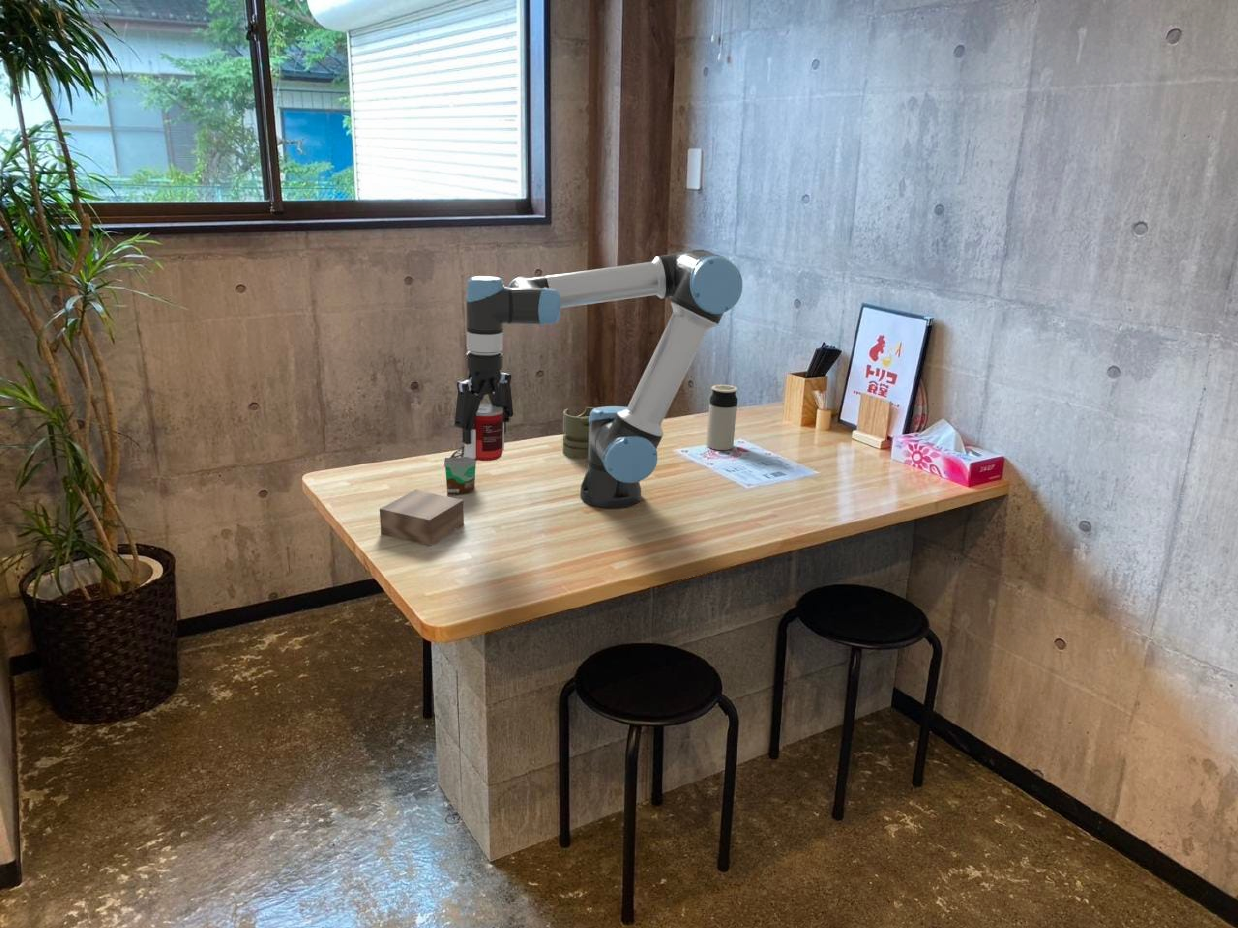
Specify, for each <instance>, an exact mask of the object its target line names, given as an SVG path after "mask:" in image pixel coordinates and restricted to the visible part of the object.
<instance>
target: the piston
mask: <svg viewBox="0 0 1238 928" xmlns="http://www.w3.org/2000/svg"><path fill="white" fill-rule="evenodd" d="M594 408H595V407H594V406H593V407H592V406H585V408H584V409H585V410H584V411H583V412H582V413H581V414H579V415H576V416H574V415H571V414H570V411H569V408H565V409H564V410H563V412H562V432H563V434H562V454H563V455H564V456H566V457H568V458H570V459H575V460H588V459H589V419H590V412H591V410H593V409H594Z"/></svg>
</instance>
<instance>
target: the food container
mask: <svg viewBox="0 0 1238 928" xmlns="http://www.w3.org/2000/svg"><path fill="white" fill-rule="evenodd" d="M443 462H444V464H443V467H444V468H445V470H444V471H445V479H446V481H445V482H446V483H445V485H446V494H447V496H459V495H466V494H470V493H471V492H473V491H474V490H475V482H476V481H475V480H476V465H477V464H476V463H477V462H478V461H477V460H473V459H471V458H469V457H466V456H465V443H461V447H460V448H459V449H458V450H456V451H454V452H453V453H452V454H451V455H450V456H449V457H444V460H443Z"/></svg>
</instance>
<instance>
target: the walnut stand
mask: <svg viewBox="0 0 1238 928" xmlns="http://www.w3.org/2000/svg"><path fill="white" fill-rule="evenodd" d="M464 513H465V511H464V499H460V498H456V497H452V496H451V497H450V496H448V495H447V496H446V495H442V494H437V493H433V492H427V491H423V490H418V489H414V490H413V491H410V492H408V493H407V494H405V495H402V496H401V497H400V498H398V499H395V500H393V501H391V502H390V503H388V504H386V505H385V506H383V507H380V508H379V522H380V534H381V535H384V536H389V537H392V538H395V539H399V540H400V539H401V540H405V541H408V542H412V543H417V544H422V545H426V546H429V547H431V546H433V545H434V544H436V543H438V542H439V541H440V540H442V539H444V538H445V537H446V536H449V535H450V534H451V533H452V532H455V531H456V530H458V529H459V528H461V527H462V526H464V525H465V515H464Z"/></svg>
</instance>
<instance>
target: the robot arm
mask: <svg viewBox="0 0 1238 928" xmlns="http://www.w3.org/2000/svg"><path fill="white" fill-rule="evenodd" d="M466 283H467V284H466V298H465V299H466V301H465V302H466V303H465V305H466V306H465V307H466V309H465V310H466V349H467V352H466V368H467V371H468V376H467V379H465V380H464V381H457V382H456V389H457V397H456V407H455V416H454V427H456V428H459V429H461V431H462V433H461V434H462V437H461V438H462V444H465V456H466V457H469V458H471V459H475V458H476V430H475V429H472V428H473V425H474V421H475V418H476V412H477V411H478V408H479V405H480V404H481V402H482V401H483V400H484V396H486V395H487V396H488V398H489V400H490V404H492V405H494V406H497V407H502V409H503V449H502V451H505V434H506V432H507V431H506V428H507V423H508V422H510V421H511V419H510V418H512V417H513V416H514V410H513V409H514V408H513V400H512V399H513V397H512V391H511V390H512V389H511V383H512V375H511V374H510V373H505V372H501V370H502V369H503V357H504V356H503V353H502V351H503V349H504V348H503V346H504V345H503V343H504V342H503V341H504V340H503V333H504V332H503V331H504V328H503V327H504V324H506V325H511V324H513V325H514V324H515V325H516V324H517V325H541V326H544V325H554V324H557V323H558V322H559V321H560V318H561V310H562V309H564V308H565V309H566V308H569V307H570V308H571V307H579V306H584V305H585V306H586V305H594V304H598V303H607V302H615V301H622V300H627V299H628V300H629V299H634V298H637V299H638V298H641V297H650V296H657V297H658V298H660V299H661V300H662V299H668V298H671V300H670V305H671V308H672V314H671V316H670V318H669V320H668V323H667V324H666V327H665V329H664V331H663V333H662V334H661V337H660V339H659V341H658V342H657V343H658V344H657V346H655V347H656V348H655V349H654V351H653V354H652V355H651V358H650V360H649V361H648V364H647V366H646V367H645V370H644V372H643V375H641V378H640V381H639V383H638V384H637V387H636V389H635V391H634V393H633V395H632V398H631V400H630V401H629V403H628V405H627V406H623V405H620V406H619V405H608V406H607V405H606V406H598V407H593V408H594V409H593V410H591V412H590V419H589V459H587V460H588V465H587V470H586V471H585V474H584V478H583V480H582V482H581V486H580V493H579V494H580V499H581V500H582V501H583V502H584V503H586V504H588V505H591V506H595V507H599V508H605V509H606V508H607V509H619V508H626V507H631V506H634V505H636V504H638V503H639V502H640V501H641V499H642V487H641V484H640V482H641V481H644V480H646V479H647V478H649V476H651V475H652V473H653V472H654V470H655V469H656V467H657V464H658V451H657V448H658V447H659V444H660V443H661V440H662V438H663V436H664V430H663V428H662V423H663V421H664V419H665V418H666V415H667V413H668V411H669V409H670V408H671V405H672V403H673V401H674V400H675V397H676V395H677V393H678V391H679V389H680V387H681V385H682V383H683V380H684V379H685V376H686V375H687V372H688V370H689V368H690V366H691V365H692V363H693V360H694V358H695V356H696V354H698V353H697V352H698V350H699V349H700V346H701V345H702V342H703V340H704V338H705V336H706V334H707V332H708V330H710V329H711V328H714V327H717V326H719V323H720V321H721V319H722V317H723V316H724V314H725V313H727V312H728V311H730V310H732V309H733V308H734V307H735V306H736V305H737V303H738V302H739V301H740V298H741V296H742V292H743V278H742V275H741V273H740V270H739V268H738V267H737V266H736V265H735V263H733V262H732V261H731V260H730V259H728V258H726V257H725V256H722V255H719V254H716V253H713V252H711V251H707V250H704V249H690V250H686V251H681V252H676V253H669V254H666V255H665V254H664V255H658V256H654V259H653V260H651V261H647V262H640V263H632V264H626V265H618V266H611V267H603V268H595V269H589V270H582V271H581V270H580V271H574V272H567V273H560V274H559V273H558V274H551V275H545V276H537V277H527V276H518V277H516V278H514V279H512V280H511V281H510V283H508V286H505V285H504V281H503V279H502V278H500V277H497V276H490V275H489V276H488V275H487V276H486V275H478V276H477V275H476V276H472V277H470V278H469V279H468V281H467V282H466ZM467 422H468V424H467Z"/></svg>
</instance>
